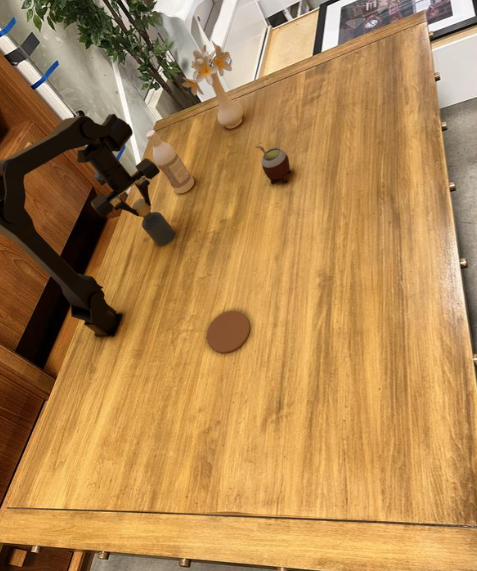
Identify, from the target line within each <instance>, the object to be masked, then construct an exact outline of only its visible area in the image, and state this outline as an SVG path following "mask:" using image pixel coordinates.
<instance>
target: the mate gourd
mask: <svg viewBox="0 0 477 571" xmlns="http://www.w3.org/2000/svg"><path fill="white" fill-rule="evenodd" d="M255 148H257V149H260V151H261V152H262V153H263V155H262V158H261V166H262V170H263V172H264V173H265V176H266V177H267V178H268V180H269V181H270V184H271V185H274V184H275V183H277V182H279V181H281V182H283V183H284V185H285V184H287V183H288V180H287V179H286V177H287V176H288V175H290V174H292V170H291V169H290V159H289V156H288V155H287V153H286V151H284V150H283V149H282V148H280V147H273V148H270V149H268V150H265V148H264V146H261V145H256V146H255Z"/></svg>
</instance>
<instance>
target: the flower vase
mask: <svg viewBox="0 0 477 571" xmlns="http://www.w3.org/2000/svg"><path fill="white" fill-rule="evenodd" d="M210 41H211V44H212V46H213V48H214V50H213V51H211V52H210V53H209V51H207V45H206V44H203V45H202V48H201V50H200V51H201V52H200V51H199V50H196V49H195V50H193V52H192V55H193V57H194V60H191V66H190V67H191V68H192V69H193V70H194V72H193V74H192V79H191V78H187V77H184V76H183V77H182V79H183V80H184V81H185V82H182V83H181V86H183V87H184V88H190V92H191V94H192V95H193V96H197V94H198V93H199V94H200V95H201V96H204V95H205V93H204V92H203V90H202V88H201V87H200V85H199V83H201V82H202V81H203V80H204V79H205V81H206V84H208V85H210V86H211V87H212V88H213V89H212V90H213V91H214V94H215V96H216V99H217V101H218V110H217V114H216V119H217V122H218V124H219V125H221V126H223V127H225V128H226V129H231V130H232V129H234V128H236V127H238V126H239V125H240V124H241V123H242V121H243V116H244V108H243V106H242V105H241V104H240V103H239V102H237V101H234V100H232V99H231V97H229V95H228V93H227V92H226V91H225V89H224V86H223V84H222V82H221V80H220V77H223V76H224V75H225V71H226V72H232V71H233V68H232V66H231V65H230V63H228V60H229V59H230V57H231V54H230V52H229V51H225V52H224V50H223V48H222V47H221V46H220V45H217V44H216V43H215V42H214V40H212V39H210ZM219 76H220V77H219Z"/></svg>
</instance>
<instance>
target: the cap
mask: <svg viewBox="0 0 477 571" xmlns="http://www.w3.org/2000/svg"><path fill="white" fill-rule="evenodd" d="M131 208H133V210H134V211H136V212H137V214H138V215H139V216H138V217H140V218H143V217H144V216H146V215H147V214H148V213H149V212H150V211H151V212H152V206H151V207H150V206H149V205H148V203H147V202H146V200H145V199H144V198H143V197H142V198H138V199H136V201H134V203H133V204H132V206H131Z"/></svg>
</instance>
